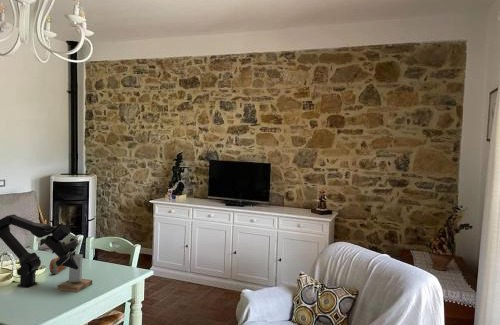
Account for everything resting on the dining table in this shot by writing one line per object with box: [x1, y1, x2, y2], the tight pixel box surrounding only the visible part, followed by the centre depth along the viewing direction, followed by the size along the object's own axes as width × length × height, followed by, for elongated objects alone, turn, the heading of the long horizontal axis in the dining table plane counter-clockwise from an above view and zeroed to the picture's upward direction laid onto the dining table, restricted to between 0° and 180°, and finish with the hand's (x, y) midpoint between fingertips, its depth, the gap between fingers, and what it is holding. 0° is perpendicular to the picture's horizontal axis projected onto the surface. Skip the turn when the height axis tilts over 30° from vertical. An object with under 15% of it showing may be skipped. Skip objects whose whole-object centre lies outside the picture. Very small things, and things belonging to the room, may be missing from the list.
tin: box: [49, 255, 66, 275], centre depth 215 cm, size 15×3×8 cm, turn 179°
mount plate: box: [57, 278, 93, 293], centre depth 195 cm, size 12×11×2 cm
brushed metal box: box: [68, 253, 83, 282], centre depth 194 cm, size 5×5×12 cm
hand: (78, 267), depth 195 cm, fingers closed on brushed metal box, 5 cm apart
